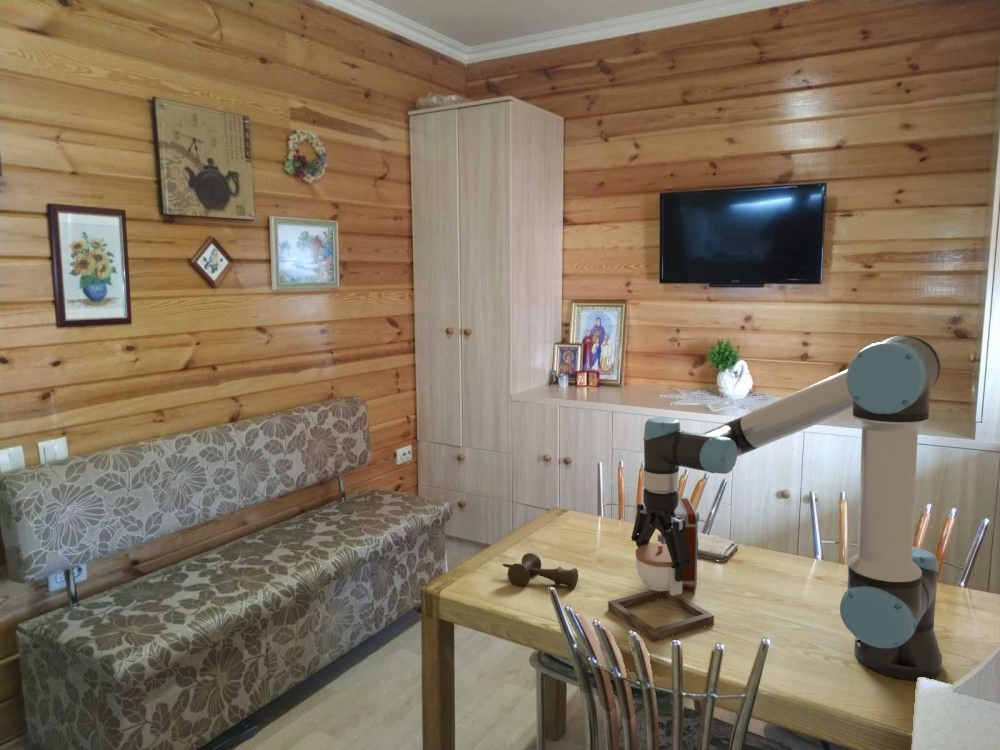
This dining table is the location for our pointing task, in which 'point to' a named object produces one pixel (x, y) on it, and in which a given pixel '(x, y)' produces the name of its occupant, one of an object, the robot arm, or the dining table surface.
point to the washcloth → (715, 547)
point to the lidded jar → (654, 566)
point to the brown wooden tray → (662, 632)
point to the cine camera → (691, 529)
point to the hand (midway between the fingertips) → (659, 583)
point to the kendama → (539, 572)
